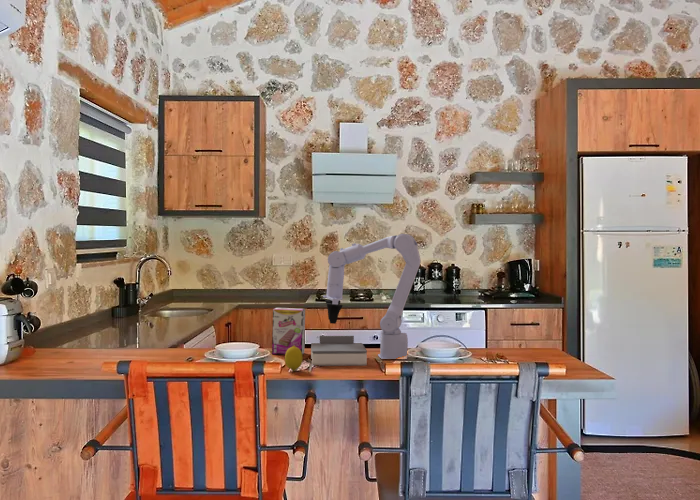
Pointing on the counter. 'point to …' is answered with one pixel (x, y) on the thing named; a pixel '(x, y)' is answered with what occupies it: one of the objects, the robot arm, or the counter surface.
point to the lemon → (293, 358)
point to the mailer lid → (337, 345)
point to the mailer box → (339, 359)
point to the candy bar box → (288, 329)
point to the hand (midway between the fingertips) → (332, 321)
